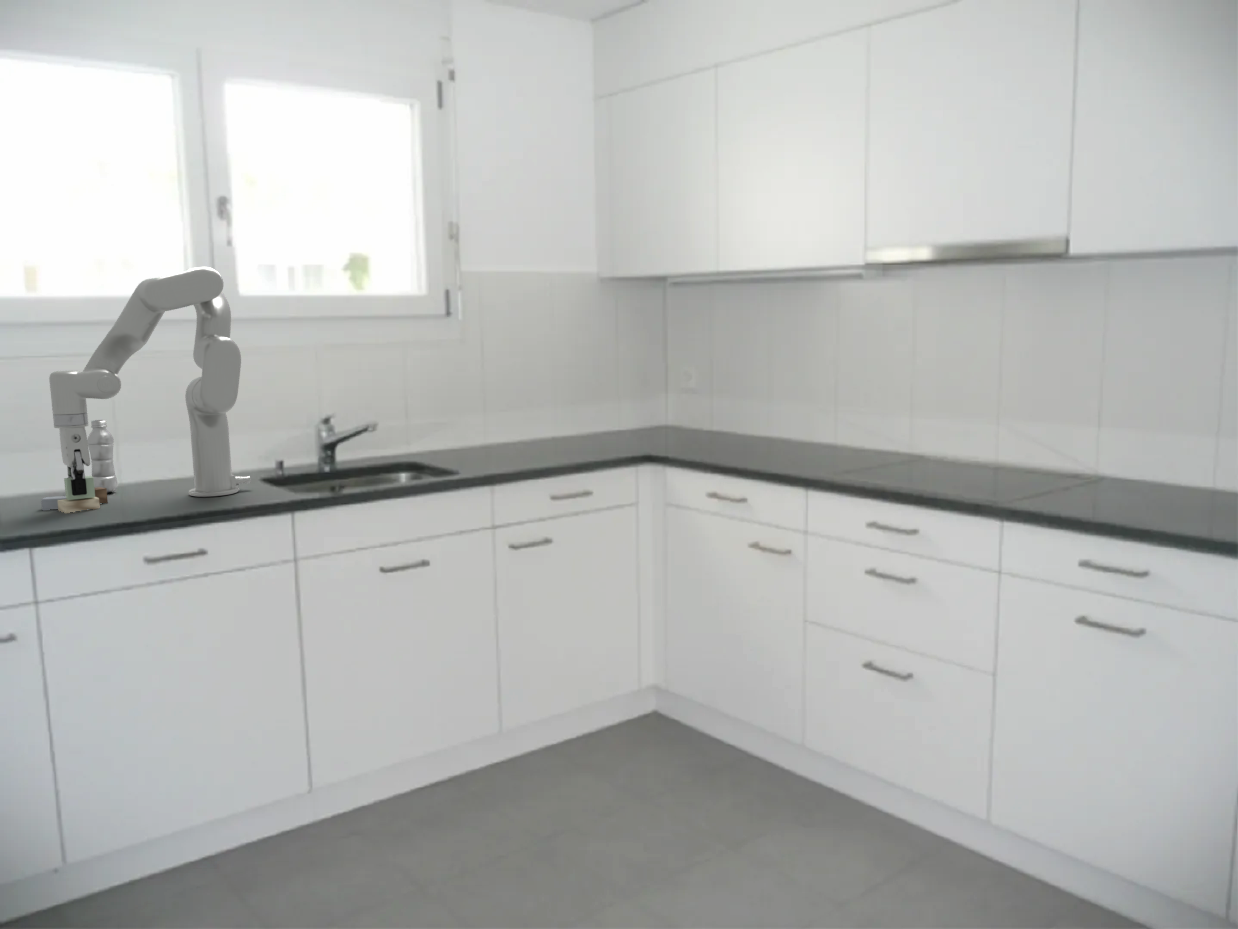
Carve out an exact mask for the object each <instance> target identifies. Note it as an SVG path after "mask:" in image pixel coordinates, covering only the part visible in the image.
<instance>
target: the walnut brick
mask: <svg viewBox="0 0 1238 929" xmlns="http://www.w3.org/2000/svg"><path fill="white" fill-rule="evenodd" d="M94 489H95V497H97V498H99V503H106V504H108V503H109V502H108V493H107V488H101V487H97V488H94Z"/></svg>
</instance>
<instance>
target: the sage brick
mask: <svg viewBox="0 0 1238 929" xmlns="http://www.w3.org/2000/svg"><path fill="white" fill-rule="evenodd" d="M85 478H86V488H87V494H85V495H76V496H73V495H72V487H71V480H72V478H68V477H65V478H63V481H64V491H65V492H64V493H65V496H66V499H68V500H74V499H83V498H93V497H95V489H94V478H93V477H92V475H85Z"/></svg>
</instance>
